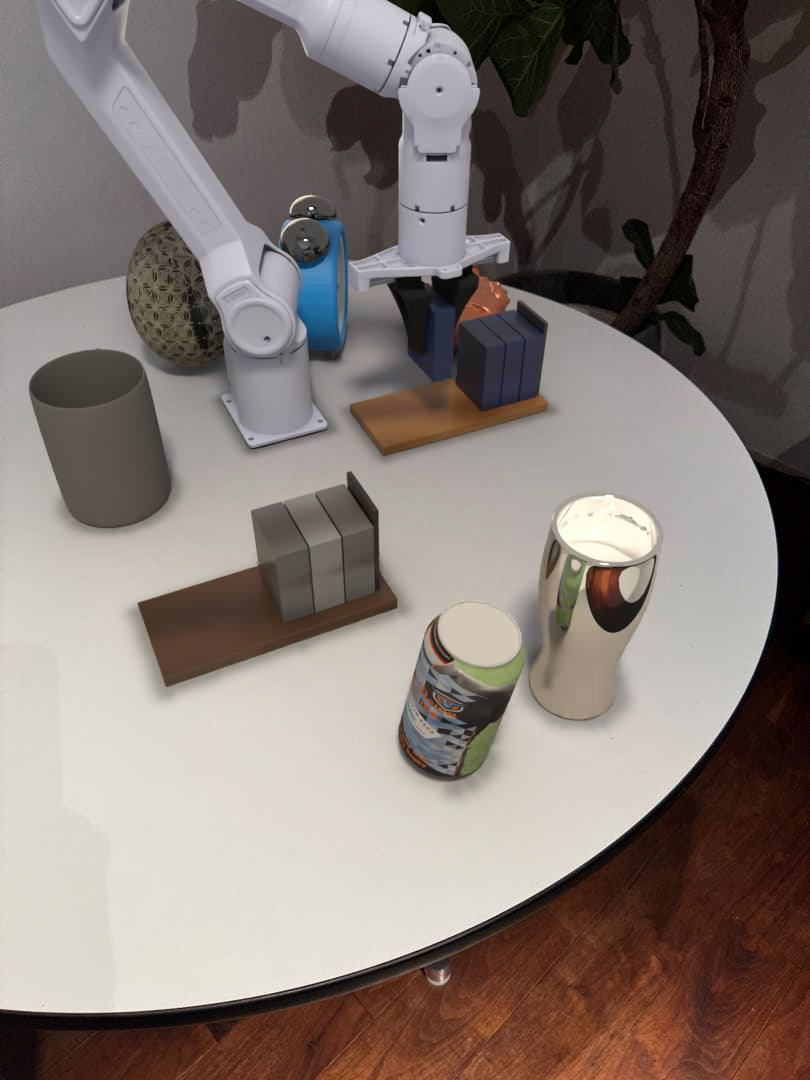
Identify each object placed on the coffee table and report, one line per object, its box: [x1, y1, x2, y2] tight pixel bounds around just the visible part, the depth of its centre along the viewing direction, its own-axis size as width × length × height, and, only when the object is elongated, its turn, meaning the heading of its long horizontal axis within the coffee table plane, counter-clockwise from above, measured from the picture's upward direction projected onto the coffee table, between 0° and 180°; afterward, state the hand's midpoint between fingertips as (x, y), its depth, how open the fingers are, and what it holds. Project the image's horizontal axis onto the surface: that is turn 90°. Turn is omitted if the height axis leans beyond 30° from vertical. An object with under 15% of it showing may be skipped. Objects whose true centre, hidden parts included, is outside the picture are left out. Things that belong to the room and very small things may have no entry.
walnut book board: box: [137, 470, 398, 688], centre depth 64 cm, size 8×18×9 cm, turn 116°
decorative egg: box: [125, 219, 225, 368], centre depth 88 cm, size 12×12×15 cm
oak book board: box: [349, 299, 549, 457], centre depth 84 cm, size 8×18×9 cm, turn 115°
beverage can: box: [398, 599, 526, 779], centre depth 54 cm, size 6×7×12 cm
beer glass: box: [529, 491, 664, 721], centre depth 56 cm, size 7×7×15 cm
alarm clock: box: [277, 192, 349, 360], centre depth 91 cm, size 13×6×15 cm, turn 178°
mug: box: [28, 348, 171, 528], centre depth 74 cm, size 14×9×12 cm
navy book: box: [406, 282, 455, 383], centre depth 79 cm, size 6×2×7 cm, turn 26°
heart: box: [428, 265, 511, 351], centre depth 97 cm, size 6×12×15 cm
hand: (428, 347), depth 81 cm, fingers closed on navy book, 2 cm apart
